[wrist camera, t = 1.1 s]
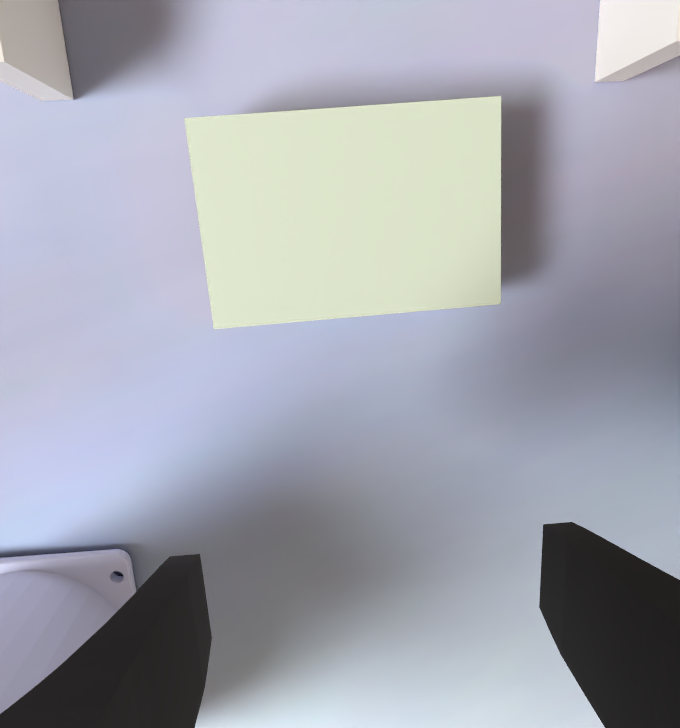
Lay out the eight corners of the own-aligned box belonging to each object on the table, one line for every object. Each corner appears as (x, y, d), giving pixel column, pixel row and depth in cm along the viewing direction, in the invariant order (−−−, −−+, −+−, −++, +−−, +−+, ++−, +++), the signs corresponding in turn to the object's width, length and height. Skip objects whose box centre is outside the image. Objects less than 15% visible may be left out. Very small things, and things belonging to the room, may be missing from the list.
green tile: (472, 292, 20) (500, 304, 17) (227, 313, 19) (213, 328, 16) (469, 117, 18) (501, 96, 15) (204, 135, 18) (184, 118, 15)
